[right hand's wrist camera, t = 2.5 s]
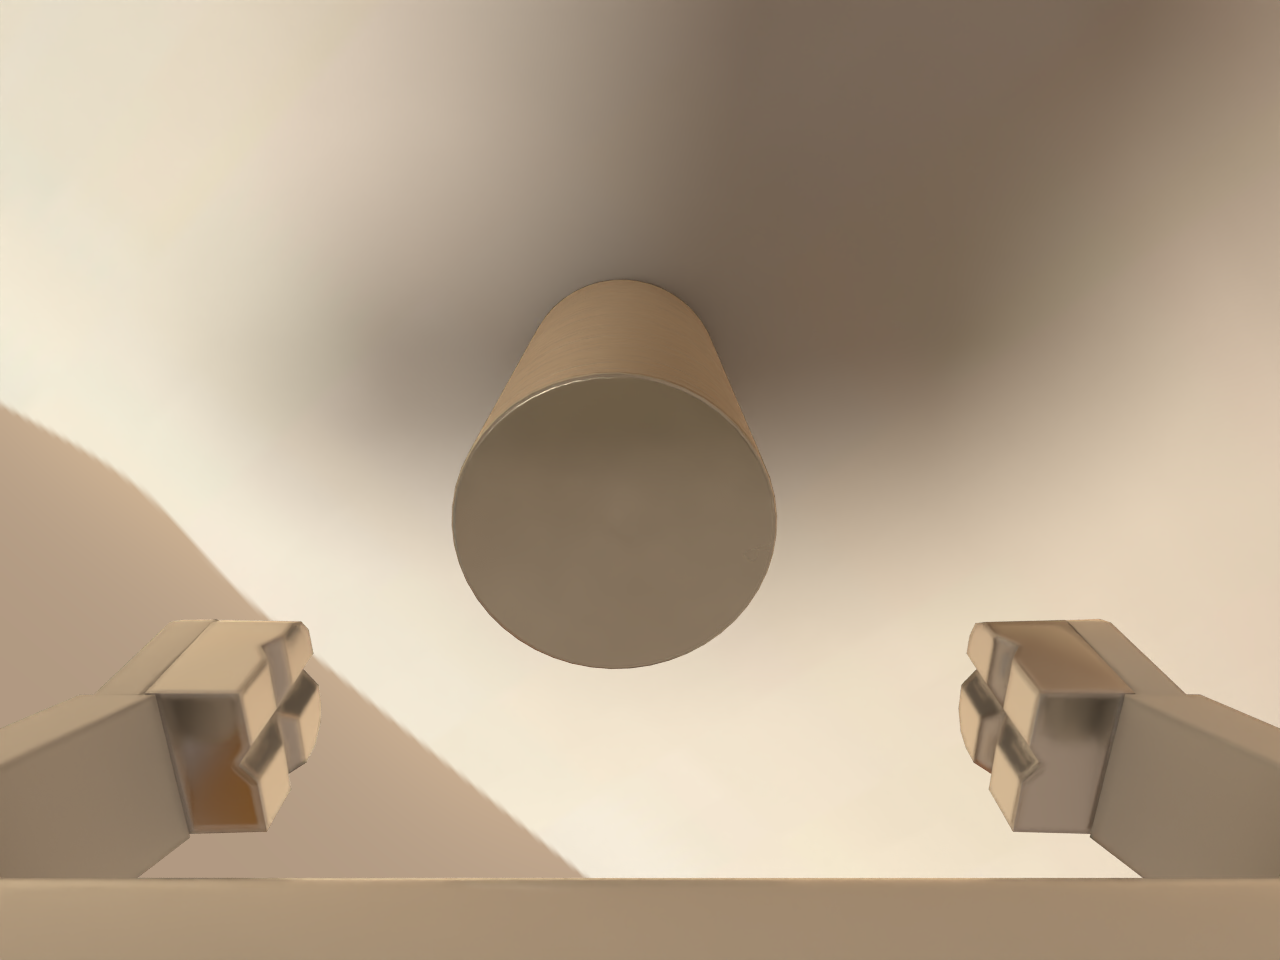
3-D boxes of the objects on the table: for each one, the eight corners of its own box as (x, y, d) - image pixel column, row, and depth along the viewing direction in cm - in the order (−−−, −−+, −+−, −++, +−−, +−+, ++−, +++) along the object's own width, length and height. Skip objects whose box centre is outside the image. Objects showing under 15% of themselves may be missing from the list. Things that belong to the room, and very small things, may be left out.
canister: (516, 450, 23) (437, 647, 14) (538, 263, 22) (465, 346, 12) (697, 478, 24) (739, 689, 14) (735, 297, 22) (812, 402, 12)
